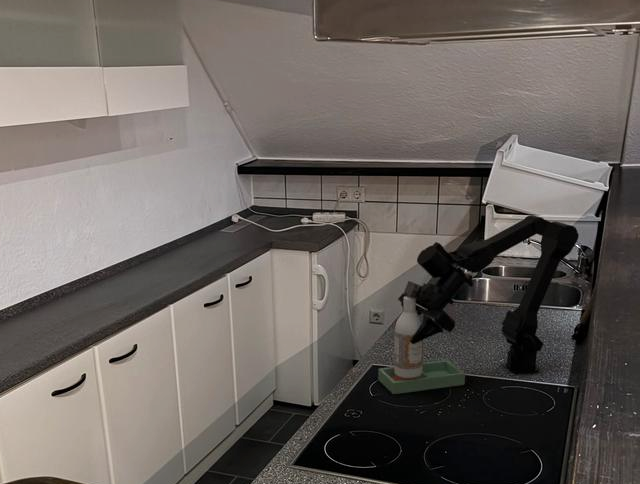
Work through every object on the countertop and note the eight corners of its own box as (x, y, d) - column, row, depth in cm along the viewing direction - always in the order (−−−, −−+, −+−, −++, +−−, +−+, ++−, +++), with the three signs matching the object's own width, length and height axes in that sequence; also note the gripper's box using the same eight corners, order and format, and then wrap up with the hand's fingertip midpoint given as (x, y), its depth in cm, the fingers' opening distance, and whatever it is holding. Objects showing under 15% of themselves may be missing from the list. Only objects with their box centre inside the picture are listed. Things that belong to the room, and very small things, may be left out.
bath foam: (403, 381, 187) (405, 303, 180) (389, 371, 193) (389, 295, 186) (427, 375, 190) (430, 298, 182) (412, 366, 196) (414, 291, 188)
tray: (446, 370, 202) (447, 359, 201) (464, 384, 193) (465, 373, 192) (378, 379, 198) (378, 368, 197) (393, 394, 189) (393, 382, 188)
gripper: (405, 261, 191) (366, 309, 192) (446, 278, 175) (402, 331, 175) (432, 287, 196) (393, 334, 197) (473, 306, 180) (431, 357, 181)
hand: (404, 338), depth 187 cm, fingers closed on bath foam, 7 cm apart
